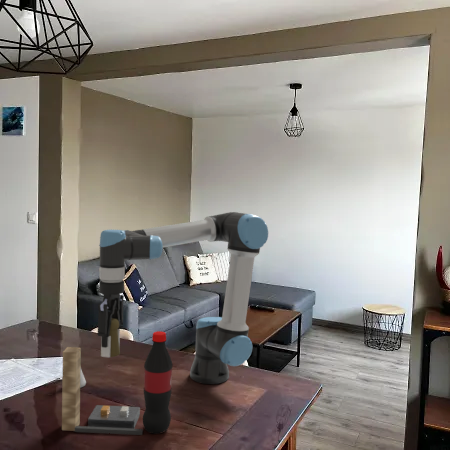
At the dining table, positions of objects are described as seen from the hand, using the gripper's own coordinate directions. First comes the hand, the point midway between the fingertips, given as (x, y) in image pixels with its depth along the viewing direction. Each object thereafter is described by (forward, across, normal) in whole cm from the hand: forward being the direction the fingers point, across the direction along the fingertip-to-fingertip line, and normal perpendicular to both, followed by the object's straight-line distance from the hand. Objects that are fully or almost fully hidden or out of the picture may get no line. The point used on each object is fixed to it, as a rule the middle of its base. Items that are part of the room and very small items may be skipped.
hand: (110, 352), depth 148 cm
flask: (+21, -18, -22) cm, 35 cm away
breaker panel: (+21, +2, +3) cm, 21 cm away
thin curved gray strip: (+21, +9, +4) cm, 23 cm away
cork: (0, 0, 0) cm, 0 cm away
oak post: (+21, +9, -8) cm, 24 cm away
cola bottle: (+21, +3, +17) cm, 27 cm away
